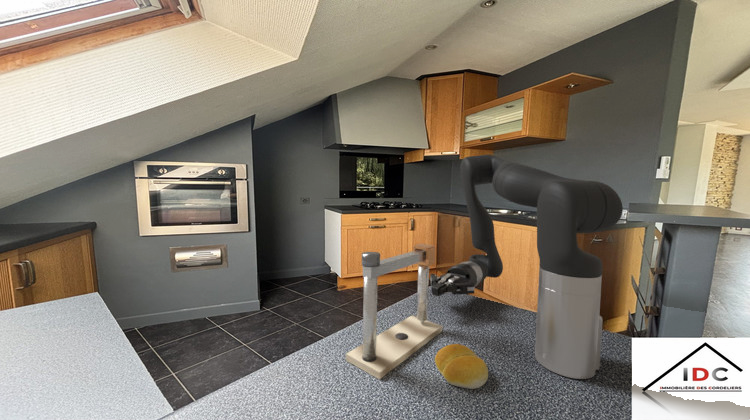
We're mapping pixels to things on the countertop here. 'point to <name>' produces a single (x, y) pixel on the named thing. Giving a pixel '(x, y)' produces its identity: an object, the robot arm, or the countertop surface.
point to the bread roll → (461, 366)
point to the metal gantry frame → (370, 273)
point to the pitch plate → (395, 346)
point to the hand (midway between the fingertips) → (435, 291)
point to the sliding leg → (424, 280)
